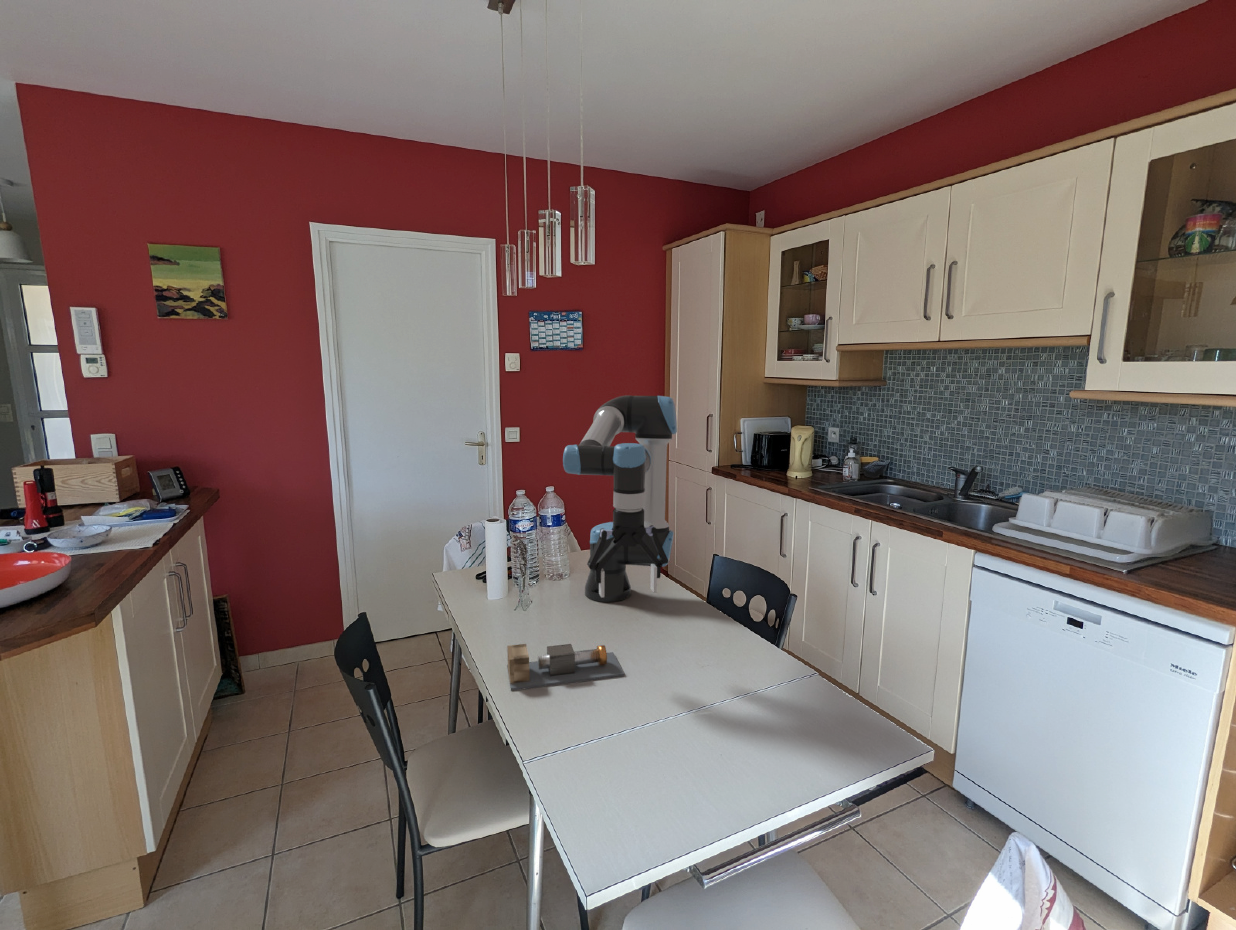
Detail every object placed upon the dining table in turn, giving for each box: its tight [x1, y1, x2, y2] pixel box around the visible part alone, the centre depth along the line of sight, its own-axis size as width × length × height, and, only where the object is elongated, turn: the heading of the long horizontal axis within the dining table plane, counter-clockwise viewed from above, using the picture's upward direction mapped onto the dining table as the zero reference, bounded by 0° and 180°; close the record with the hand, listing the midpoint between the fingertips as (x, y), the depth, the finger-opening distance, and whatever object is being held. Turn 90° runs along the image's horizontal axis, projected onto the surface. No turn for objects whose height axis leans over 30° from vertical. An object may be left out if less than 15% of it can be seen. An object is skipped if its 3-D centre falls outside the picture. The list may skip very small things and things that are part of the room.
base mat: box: [506, 651, 625, 691], centre depth 143 cm, size 27×11×1 cm, turn 105°
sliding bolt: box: [537, 644, 608, 670], centre depth 143 cm, size 16×5×5 cm, turn 105°
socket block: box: [506, 643, 530, 685], centre depth 140 cm, size 4×7×6 cm, turn 15°
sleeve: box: [546, 643, 575, 677], centre depth 143 cm, size 6×5×5 cm
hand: (627, 593), depth 144 cm, fingers open, 12 cm apart
